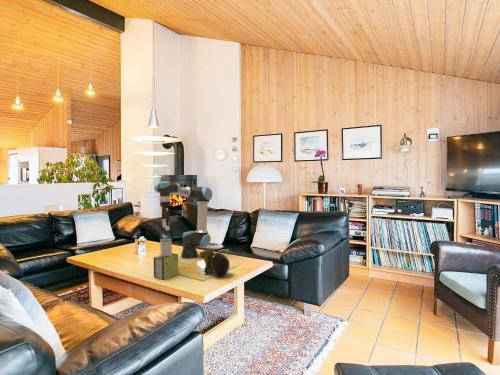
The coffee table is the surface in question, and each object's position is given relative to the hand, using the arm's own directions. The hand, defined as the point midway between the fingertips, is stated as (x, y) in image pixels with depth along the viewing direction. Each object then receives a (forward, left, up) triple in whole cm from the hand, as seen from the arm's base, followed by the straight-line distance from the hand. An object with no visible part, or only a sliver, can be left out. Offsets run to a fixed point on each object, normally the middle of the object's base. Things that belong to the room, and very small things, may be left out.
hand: (165, 228), depth 240 cm
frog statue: (-32, +22, -34) cm, 52 cm away
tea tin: (+2, +11, -18) cm, 21 cm away
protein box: (+2, +11, -34) cm, 36 cm away
